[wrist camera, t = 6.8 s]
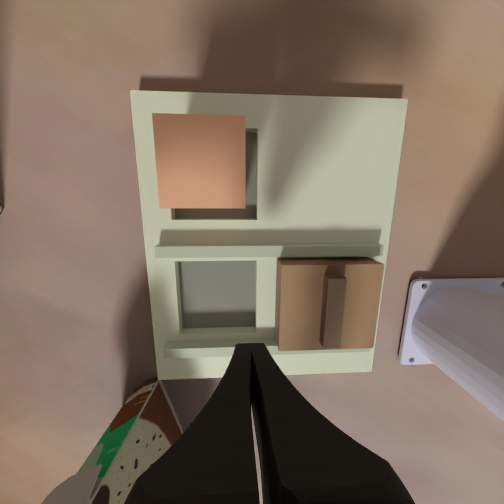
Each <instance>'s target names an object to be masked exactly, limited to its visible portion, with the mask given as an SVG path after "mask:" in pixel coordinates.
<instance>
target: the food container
mask: <svg viewBox="0 0 504 504" xmlns="http://www.w3.org/2000/svg"><path fill="white" fill-rule="evenodd" d="M183 432H184V431H183V429H182V426H181V424H180V422H179V419H178V417H177V415H176V412H175V410H174V408H173V405H172V403H171V401H170V399H169V396H168V394H167V392H166V389H165V387H164V385H163V382H162V380H158V377H156V378H153V379H151V380H148V381H146V382H145V383H143V384H142V385H141V386H139V387H138V388H136V389H135V390H134V391H133V392H132V394H131V395H130V396H129V398H128V399H127V401H126V402H125V403H124V405H123V406H122V408H121V409H120V411H119V412H118V414H117V415H116V417H115V418H114V420H113V421H112V423H111V424H110V426H109V427H108V428H107V430H106V431H105V433H104V434H103V436H102V437H101V439H100V440H99V442H98V443H97V445H96V446H95V448H94V449H93V450H92V452H91V453H90V455H89V456H88V458H87V459H86V461H85V462H84V464H83V465H82V467H81V468H80V470H79V471H78V472H77V474H75V475H73V476H71V477H69V478H68V479H67V480H65V481H64V482H62V483H61V484H60V485H58V486H57V487H56V488H55V489H54V490H53V491H52V492H51V493H50V494H49V495H48V496H47V497H46V498H45V500H44V501H43V503H42V504H124V502H125V500H126V498H127V496H128V494H129V492H130V490H131V489H132V487H133V485H134V483H135V481H136V479H137V478H138V477H139V476H140V475H141V474H142V473H144V472H145V471H146V470H147V469H148V468H149V467H150V466H151V465H152V464H153V463H154V462H155V461H156V460H157V459H159V458H160V457H161V456H162V455H163V454H164V453H165V452H166V451H167V450H168V449H169V448H170V447H171V446H172V444H173V443H174V442H175V441H176V440H177V439H178V438H179V437H180V436H181V435H182V434H183Z"/></svg>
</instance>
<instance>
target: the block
mask: <svg viewBox="0 0 504 504" xmlns="http://www.w3.org/2000/svg"><path fill="white" fill-rule="evenodd" d="M152 121H153V134H154V146H155V159H156V171H157V184H158V196H159V208H246V135H245V115H208V114H170V113H152Z"/></svg>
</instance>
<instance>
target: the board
mask: <svg viewBox="0 0 504 504" xmlns="http://www.w3.org/2000/svg"><path fill="white" fill-rule="evenodd" d="M130 98H131V108H132V118H133V128H134V139H135V149H136V159H137V170H138V180H139V190H140V200H141V211H142V221H143V231H144V242H145V252H146V262H147V272H148V283H149V293H150V303H151V314H152V324H153V334H154V344H155V355H156V365H157V375H158V380H171V379H196V378H221V377H223V376H224V374H225V372H226V369H227V367H228V365H229V363H230V361H231V358H232V355H233V353H234V349H235V345H236V344H237V343H264V344H265V345H266V347H267V349H268V351H269V352H270V354H271V356H272V357H273V359H274V361H275V362H276V364H277V365H278V366H279V368H280V369H281V371H282V372H283V373H284V375H297V374H322V373H347V372H371V371H372V363H373V356H374V348H375V341H376V333H377V326H378V319H379V311H380V304H381V296H382V289H383V281H384V274H385V266H386V259H387V252H388V244H389V237H390V229H391V222H392V214H393V207H394V199H395V192H396V185H397V177H398V170H399V162H400V155H401V147H402V140H403V133H404V125H405V118H406V110H407V103H408V99H395V98H363V97H331V96H298V95H266V94H234V93H202V92H170V91H138V90H130ZM152 113H170V114H208V115H245V135H246V208H159V196H158V184H157V171H156V159H155V146H154V134H153V121H152ZM324 257H369V258H372V259H374V260H376V261H378V262H381V263H383V264H384V271H383V279H382V286H381V294H380V301H379V309H378V316H377V324H376V331H375V339H374V346H373V348H362V349H332V350H303V351H279V350H278V346H277V343H276V339H275V302H276V267H277V258H324Z"/></svg>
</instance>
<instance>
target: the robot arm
mask: <svg viewBox="0 0 504 504" xmlns="http://www.w3.org/2000/svg"><path fill="white" fill-rule="evenodd" d="M422 284H424V286H423V287H422ZM410 358H411V359H410ZM398 360H399V362H400V363H401V364H403V365H415V364H435V365H436V366H437V367H438V368H440V369H441V370H442V371H443V372H444V373H446V374H447V375H448V376H449V377H450V378H452V379H453V380H454V381H455V382H456V383H458V384H459V385H460V386H461V387H462V388H464V389H465V390H466V391H467V392H468V393H470V394H471V395H472V396H473V397H474V398H475V399H477V400H478V401H479V402H480V403H481V404H483V405H484V406H485V407H486V408H487V409H489V410H490V411H491V412H492V413H493V414H495V415H496V416H497V417H498V418H499V419H501V420H502V421H503V422H504V278H451V279H415V280H413V281H412V282H411V284H410V288H409V295H408V301H407V307H406V313H405V320H404V326H403V332H402V338H401V344H400V351H399V357H398ZM251 404H252V411H253V418H254V425H255V432H256V439H257V446H258V453H259V460H260V469H261V481H262V496H263V504H415V503H414V501H413V499H412V497H411V496H410V494H409V492H408V491H407V489H406V488H405V486H404V484H403V483H402V481H401V480H400V478H399V477H398V476H397V474H396V473H395V471H394V470H393V468H392V467H391V465H390V464H389V462H387V461H386V460H384V459H383V458H381V457H380V456H378V455H376V454H375V453H373V452H372V451H370V450H369V449H367V448H365V447H364V446H362V445H361V444H359V443H358V442H356V441H355V440H353V439H352V438H351V437H349V436H348V435H347V434H345V433H344V432H343V431H341V430H340V429H339V428H337V427H336V426H335V425H334V424H332V423H331V422H330V421H329V420H328V419H326V418H325V417H324V416H323V415H322V414H321V413H319V412H318V411H317V410H316V409H315V408H314V407H313V406H312V405H311V404H310V403H309V402H308V401H307V400H306V399H305V398H304V397H303V396H302V395H301V394H300V393H299V392H298V390H297V389H296V388H295V387H294V386H293V385H292V383H291V382H290V381H289V380H288V379H287V377H286V376H285V375H284V373H283V372H282V371H281V369H280V368H279V366H278V365H277V364H276V362H275V361H274V359H273V357H272V356H271V354H270V352H269V351H268V349H267V347H266V345H265V344H264V343H237V344H236V345H235V349H234V353H233V355H232V358H231V361H230V363H229V365H228V367H227V369H226V372H225V374H224V376H223V377H222V379H221V381H220V383H219V385H218V386H217V388H216V390H215V391H214V393H213V395H212V396H211V398H210V399H209V401H208V402H207V403H206V405H205V406H204V408H203V409H202V410H201V412H200V413H199V414H198V416H197V417H196V418H195V420H194V421H193V422H192V423H191V424H190V426H189V427H188V428H187V429H186V430H185V431H184V432H183V434H182V435H181V436H180V437H179V438H178V439H177V440H176V441H175V442H174V443H173V444H172V446H171V447H170V448H169V449H168V450H167V451H166V452H165V453H164V454H163V455H162V456H161V457H160V458H159V459H157V460H156V461H155V462H154V463H153V464H152V465H151V466H150V467H149V468H148V469H147V470H146V471H145V472H144V473H142V474H141V475H140V476H139V477H138V478H137V479H136V481H135V483H134V485H133V487H132V489H131V490H130V492H129V494H128V496H127V498H126V500H125V502H124V504H259V490H258V481H257V472H256V462H255V452H254V441H253V430H252V418H251Z"/></svg>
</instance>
